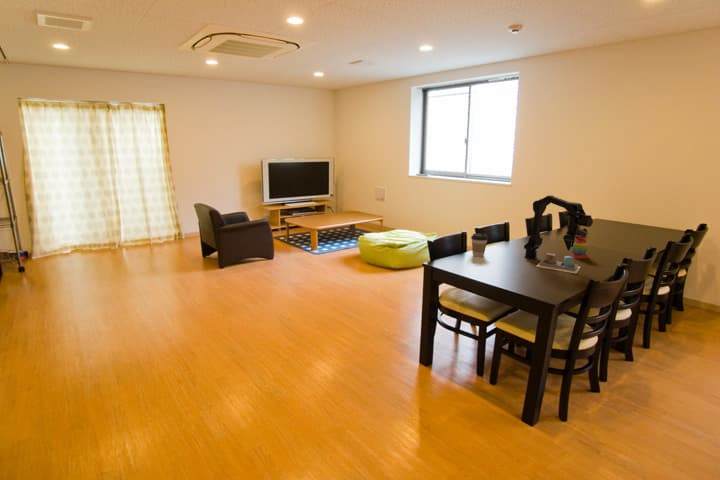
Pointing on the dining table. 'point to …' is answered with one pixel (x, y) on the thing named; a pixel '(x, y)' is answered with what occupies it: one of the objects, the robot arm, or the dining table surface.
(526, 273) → the dining table surface
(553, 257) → the walnut block
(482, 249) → the coffee cup
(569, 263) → the teal cylinder
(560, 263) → the tray
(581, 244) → the stacking bear
